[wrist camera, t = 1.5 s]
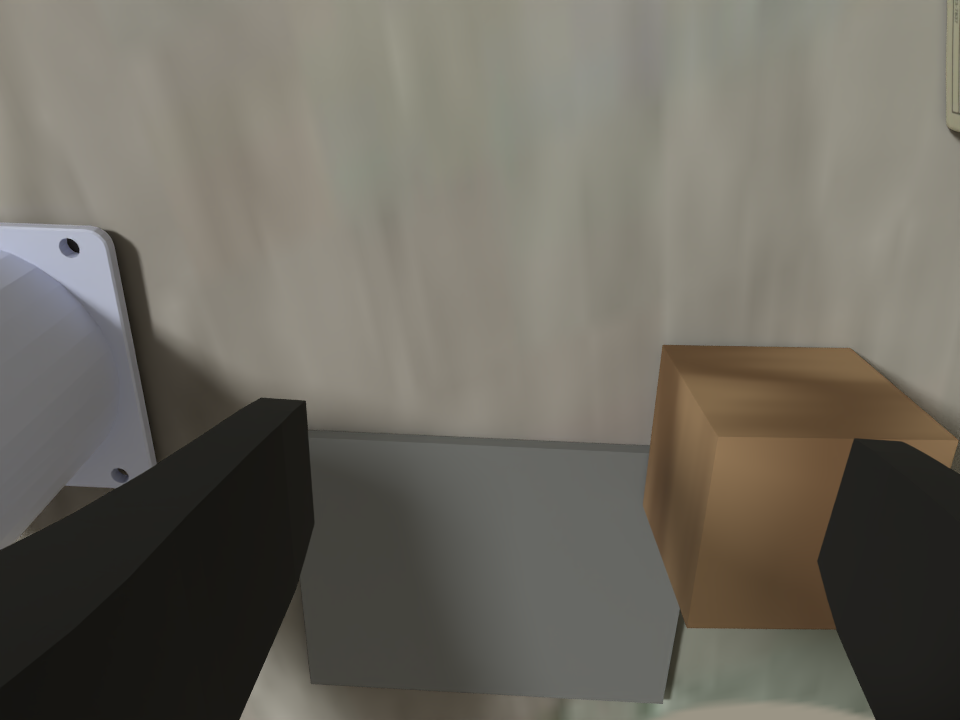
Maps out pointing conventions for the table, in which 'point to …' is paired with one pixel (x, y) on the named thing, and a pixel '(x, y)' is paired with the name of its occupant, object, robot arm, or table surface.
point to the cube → (762, 473)
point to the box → (953, 65)
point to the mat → (485, 568)
